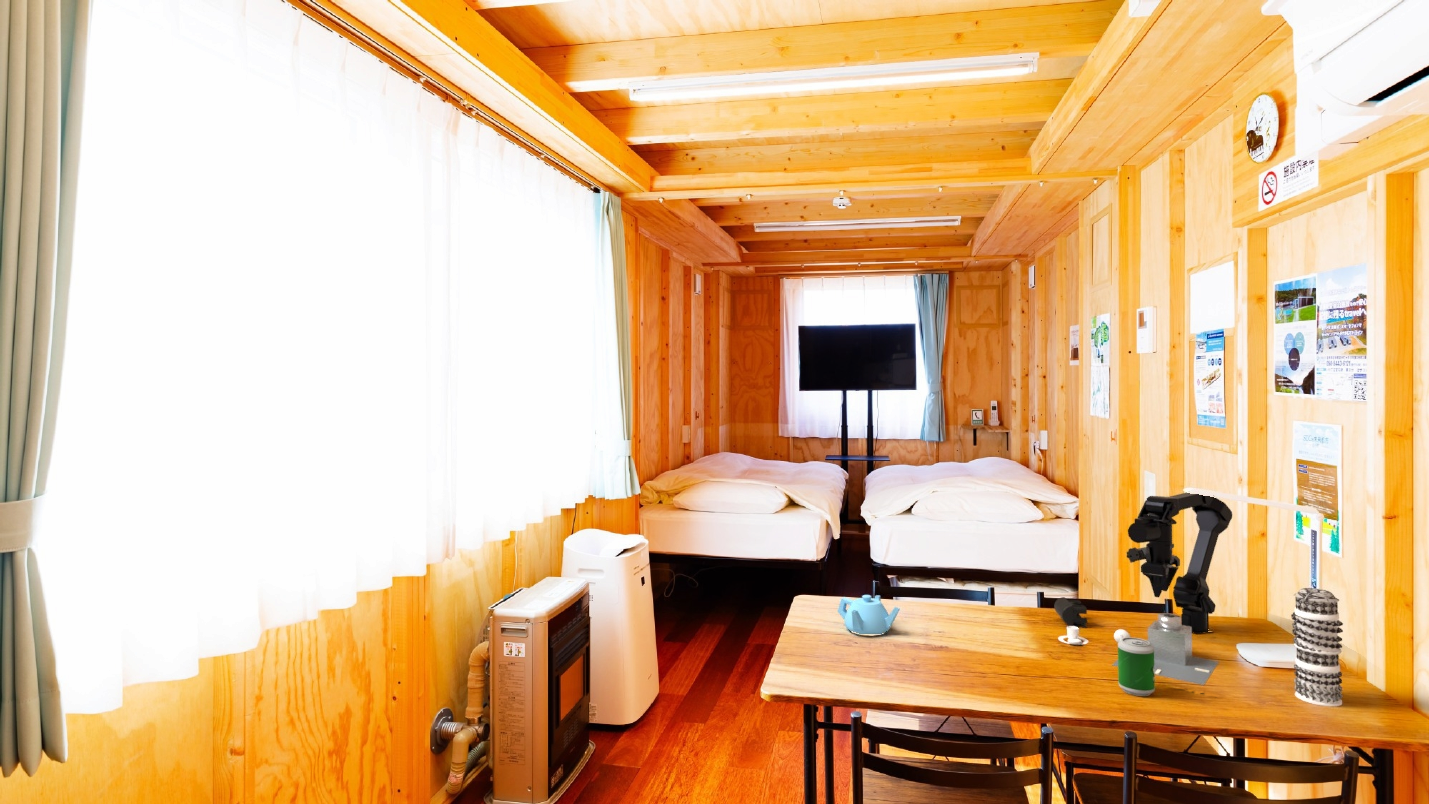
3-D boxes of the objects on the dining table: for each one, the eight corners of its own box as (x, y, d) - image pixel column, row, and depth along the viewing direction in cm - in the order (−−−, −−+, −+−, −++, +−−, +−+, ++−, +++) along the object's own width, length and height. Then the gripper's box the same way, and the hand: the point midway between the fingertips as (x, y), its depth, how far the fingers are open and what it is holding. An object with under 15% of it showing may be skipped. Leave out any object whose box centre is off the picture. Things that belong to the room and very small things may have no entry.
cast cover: (1155, 649, 197) (1155, 609, 197) (1192, 656, 191) (1191, 614, 191) (1148, 658, 191) (1147, 616, 191) (1185, 665, 185) (1184, 622, 185)
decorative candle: (1296, 702, 165) (1293, 593, 164) (1289, 687, 172) (1287, 583, 172) (1348, 710, 160) (1346, 598, 160) (1339, 695, 168) (1337, 588, 168)
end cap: (1054, 617, 230) (1053, 596, 230) (1078, 618, 229) (1077, 597, 229) (1062, 627, 221) (1061, 605, 221) (1087, 628, 219) (1087, 606, 219)
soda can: (1154, 700, 168) (1153, 648, 167) (1117, 693, 172) (1116, 643, 171) (1155, 688, 174) (1154, 639, 174) (1119, 682, 178) (1118, 634, 178)
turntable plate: (1132, 648, 201) (1131, 612, 201) (1218, 665, 187) (1218, 626, 187) (1112, 669, 187) (1111, 630, 187) (1203, 689, 173) (1203, 647, 173)
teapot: (881, 621, 231) (881, 587, 231) (901, 636, 216) (901, 600, 216) (836, 624, 228) (835, 591, 228) (853, 640, 214) (852, 604, 214)
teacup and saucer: (1080, 649, 203) (1080, 634, 203) (1052, 642, 209) (1052, 628, 209) (1093, 641, 208) (1093, 627, 208) (1065, 635, 214) (1065, 621, 214)
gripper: (1137, 532, 221) (1138, 583, 221) (1120, 541, 207) (1120, 595, 207) (1180, 537, 213) (1180, 589, 213) (1165, 546, 200) (1165, 602, 200)
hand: (1160, 594), depth 209 cm, fingers open, 9 cm apart
